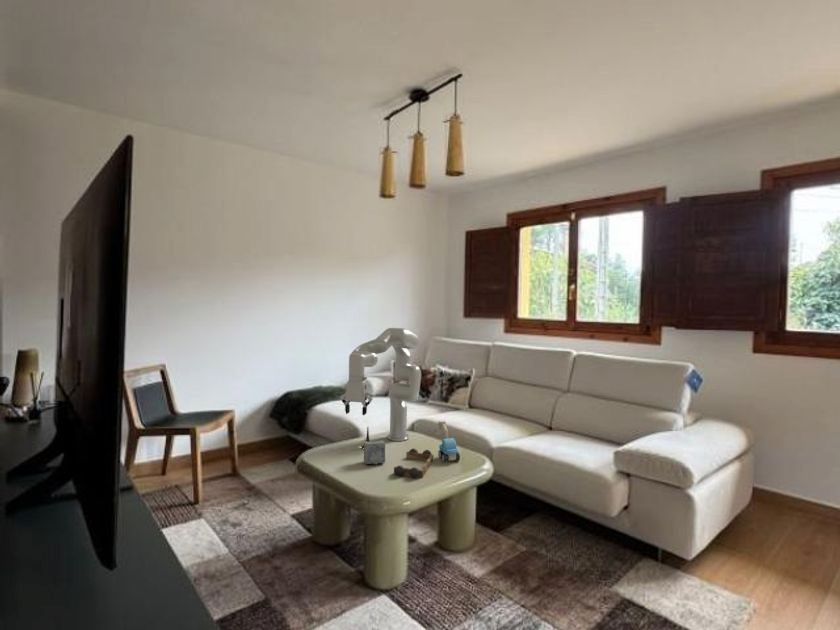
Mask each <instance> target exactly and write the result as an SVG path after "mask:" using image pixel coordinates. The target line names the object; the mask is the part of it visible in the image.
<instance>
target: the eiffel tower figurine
mask: <svg viewBox="0 0 840 630" xmlns="http://www.w3.org/2000/svg"><path fill="white" fill-rule="evenodd" d="M369 433H370V432H369V426H367V427H366V438H365V441H367V442H371V440H370V436H369V435H370V434H369ZM362 445H363V446H361V447H362V448H360V449H361V450H363V451H364V449H363V448H364V444H362Z"/></svg>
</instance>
